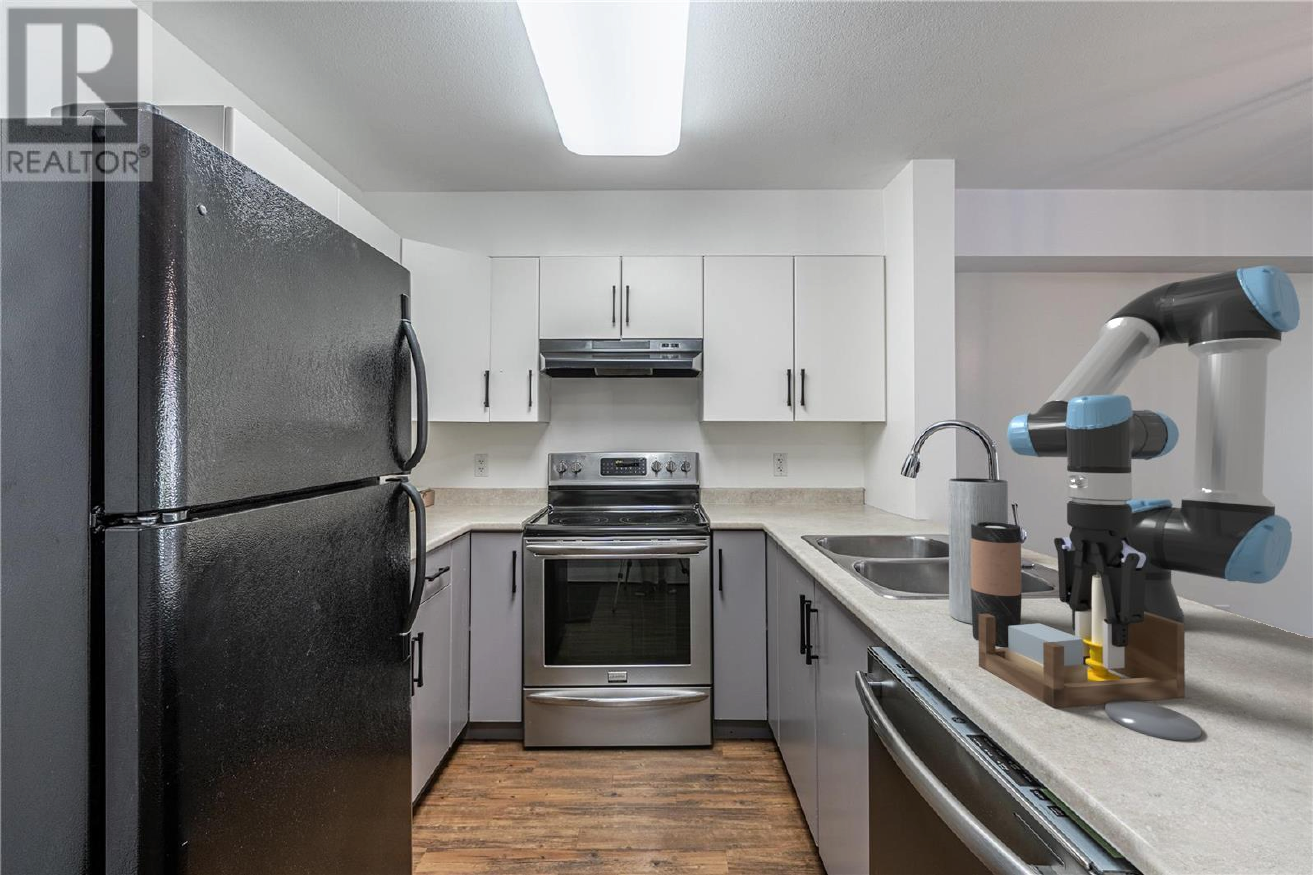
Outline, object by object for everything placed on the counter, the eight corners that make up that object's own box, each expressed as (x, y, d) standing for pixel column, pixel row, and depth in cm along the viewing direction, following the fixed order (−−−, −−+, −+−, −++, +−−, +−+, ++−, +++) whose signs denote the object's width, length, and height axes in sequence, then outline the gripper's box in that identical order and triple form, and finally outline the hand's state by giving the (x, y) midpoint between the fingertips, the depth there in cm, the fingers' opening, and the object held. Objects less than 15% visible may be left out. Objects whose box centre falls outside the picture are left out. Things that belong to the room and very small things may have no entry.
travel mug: (1029, 649, 96) (1029, 529, 96) (979, 645, 97) (979, 528, 97) (1011, 633, 103) (1010, 522, 103) (965, 630, 105) (964, 521, 105)
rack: (1092, 658, 92) (1092, 595, 92) (1184, 697, 78) (1184, 623, 78) (978, 665, 89) (978, 601, 89) (1053, 707, 75) (1053, 631, 75)
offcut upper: (1039, 646, 87) (1039, 623, 87) (1083, 664, 80) (1083, 638, 80) (1008, 649, 86) (1008, 626, 86) (1050, 667, 79) (1050, 642, 79)
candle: (1120, 690, 80) (1120, 578, 80) (1074, 679, 84) (1074, 572, 84) (1123, 678, 84) (1123, 572, 84) (1079, 668, 88) (1079, 566, 88)
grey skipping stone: (1146, 702, 76) (1146, 697, 76) (1222, 737, 68) (1222, 732, 68) (1087, 707, 75) (1087, 702, 75) (1156, 743, 66) (1156, 738, 66)
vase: (1020, 622, 109) (1019, 480, 109) (983, 629, 105) (982, 482, 105) (973, 608, 118) (972, 477, 118) (937, 614, 115) (937, 479, 115)
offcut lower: (1041, 672, 87) (1041, 645, 87) (1087, 695, 79) (1087, 666, 79) (1005, 674, 86) (1005, 647, 86) (1048, 698, 78) (1048, 669, 78)
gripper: (1029, 495, 92) (1030, 642, 92) (1131, 508, 75) (1132, 687, 75) (1071, 494, 93) (1072, 639, 93) (1181, 507, 76) (1181, 684, 76)
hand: (1099, 660), depth 84 cm, fingers closed on candle, 4 cm apart
